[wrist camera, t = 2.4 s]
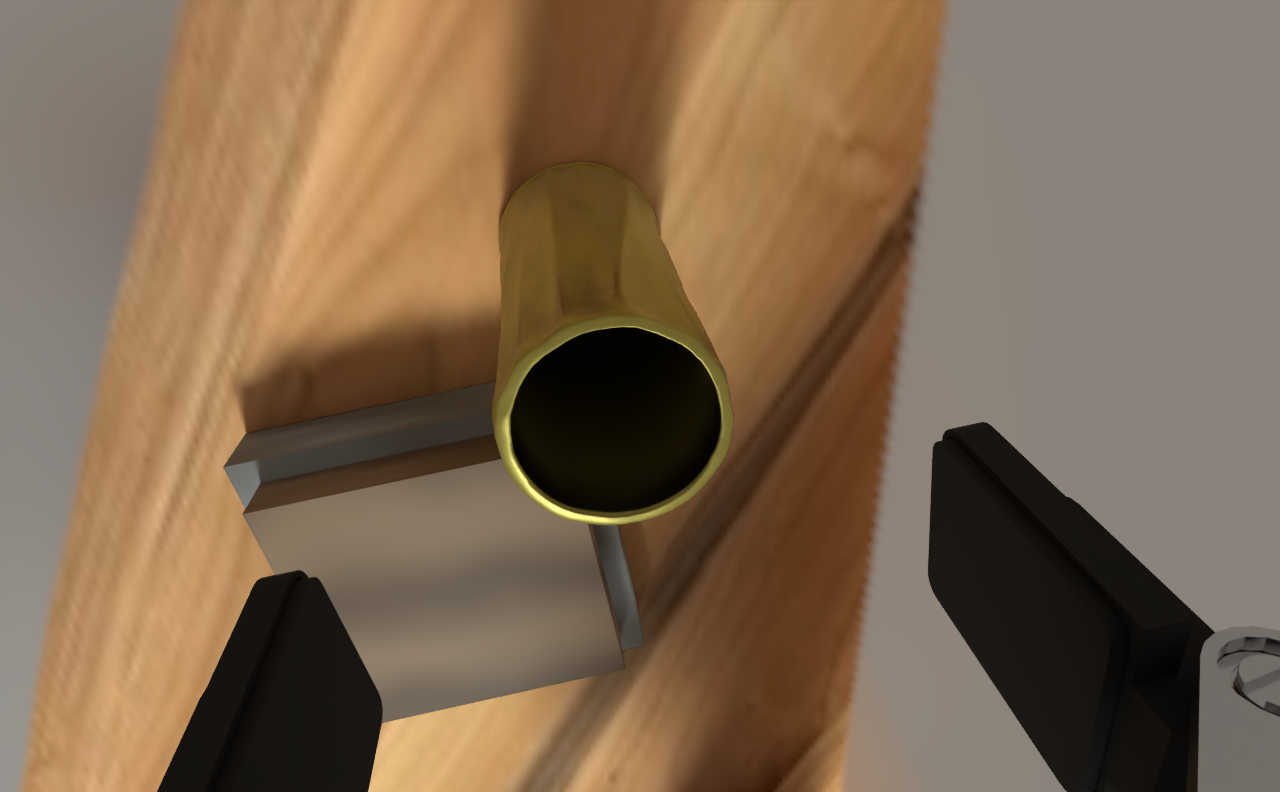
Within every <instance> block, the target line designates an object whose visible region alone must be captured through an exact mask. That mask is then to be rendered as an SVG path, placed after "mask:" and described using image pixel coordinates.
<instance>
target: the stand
mask: <svg viewBox="0 0 1280 792" xmlns="http://www.w3.org/2000/svg"><path fill="white" fill-rule="evenodd" d="M495 384H496V381H495V382H490V383H486V384H481V385H476V386H471V387H466V388H462V389H457V390H452V391H447V392H443V393H438V394H433V395H428V396H424V397H419V398H414V399H409V400H404V401H400V402H395V403H390V404H385V405H381V406H376V407H371V408H366V409H362V410H357V411H352V412H347V413H342V414H338V415H333V416H328V417H323V418H319V419H314V420H309V421H304V422H300V423H295V424H290V425H285V426H280V427H276V428H271V429H266V430H261V431H257V432H252V433H247V434H245V436H244V437H243V439H242V440H241V442H240V443H239V445H238V446H237V448H236V449H235V451H234V452H233V454H232V455H231V456H230V458H229V459H228V461H227V462H226V464H225V465H224V467H223V468H224V470H225V472H226V473H227V475H228V477H229V479H230V481H231V483H232V485H233V486H234V488H235V490H236V492H237V494H238V496H239V498H240V500H241V501H242V503H243V505H244V507H245V511H244V513H243V516H244V518H245V520H246V522H247V524H248V525H249V527H250V529H251V531H252V533H253V535H254V536H255V538H256V540H257V542H258V544H259V546H260V548H261V549H262V551H263V553H264V555H265V557H266V559H267V561H268V562H269V564H270V566H271V568H272V570H273V572H274V573H275V575H278V574H282V573H287V572H292V571H296V570H301V571H303V572H304V573H306V575H307V576H308V578H311V577H317V578H318V579H319V580H320V581H321V583H322V584H323V586H324V588H325V590H326V592H327V594H328V596H329V598H330V600H331V602H332V604H333V605H334V607H335V609H336V611H337V613H338V615H339V617H340V619H341V621H342V623H343V625H344V627H345V628H346V630H347V632H348V634H349V636H350V638H351V640H352V642H353V644H354V646H355V648H356V650H357V652H358V653H359V655H360V657H361V659H362V661H363V663H364V665H365V667H366V669H367V671H368V673H369V675H370V677H371V678H372V680H373V682H374V684H375V686H376V688H377V690H378V692H379V694H380V697H381V701H382V707H383V718H382V723H384V722H389V721H393V720H398V719H402V718H407V717H411V716H416V715H420V714H424V713H429V712H433V711H438V710H442V709H447V708H451V707H456V706H460V705H465V704H469V703H474V702H478V701H483V700H487V699H492V698H496V697H501V696H505V695H510V694H514V693H519V692H523V691H528V690H532V689H536V688H541V687H545V686H550V685H554V684H559V683H563V682H568V681H572V680H577V679H581V678H586V677H590V676H595V675H599V674H604V673H608V672H613V671H617V670H622V669H625V665H624V657H623V650H627V649H631V648H636V647H640V646H645V644H644V638H643V632H642V627H641V621H640V615H639V609H638V605H637V600H636V596H635V592H634V587H633V583H632V579H631V574H630V570H629V566H628V561H627V557H626V553H625V549H624V544H623V540H622V536H621V531H620V527H619V525H596V524H588V523H581V522H576V521H571V520H567V519H564V518H561V517H558V516H556V515H554V514H552V513H550V512H548V511H547V510H545V509H544V508H542V507H540V506H539V505H538V504H536V503H535V502H534V501H532V500H531V499H530V498H529V497H528V496H527V495H525V494H524V493H523V492H522V491H521V490H520V489H519V487H518V486H517V485H516V484H515V483H514V482H513V480H512V479H511V477H510V476H509V474H508V472H507V471H506V469H505V466H504V463H503V461H502V458H501V456H500V452H499V449H498V446H497V443H496V439H495V435H494V426H493V421H492V404H493V396H494V392H495Z"/></svg>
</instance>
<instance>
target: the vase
mask: <svg viewBox="0 0 1280 792" xmlns="http://www.w3.org/2000/svg"><path fill="white" fill-rule="evenodd" d="M499 250H500V255H501V259H500V281H501V334H500V341H499V350H498V363H497V375H496V384H495V392H494V396H493V404H492V421H493V426H494V435H495V439H496V443H497V446H498V449H499V452H500V456H501V458H502V461H503V463H504V466H505V469H506V471H507V472H508V474H509V476H510V477H511V479H512V480H513V482H514V483H515V484H516V485H517V486H518V487H519V489H520V490H521V491H522V492H523V493H524V494H525V495H527V496H528V497H529V498H530V499H531V500H532V501H534V502H535V503H536V504H538V505H539V506H540V507H542V508H544V509H545V510H547V511H548V512H550V513H552V514H554V515H556V516H558V517H561V518H564V519H567V520H571V521H576V522H581V523H588V524H596V525H620V524H628V523H634V522H639V521H644V520H648V519H651V518H655V517H658V516H661V515H663V514H666V513H668V512H670V511H671V510H673V509H675V508H677V507H679V506H680V505H682V504H683V503H685V502H686V501H688V500H689V499H691V498H692V497H693V496H695V495H696V494H697V493H698V492H699V491H700V490H701V489H702V488H703V487H704V485H705V484H706V483H707V482H708V481H709V479H710V478H711V477H712V475H713V474H714V473H715V472H716V470H717V469H718V467H719V466H720V464H721V463H722V461H723V459H724V457H725V455H726V453H727V451H728V448H729V445H730V441H731V436H732V431H733V419H734V414H733V410H732V404H731V398H730V392H729V387H728V382H727V376H726V373H725V370H724V368H723V366H722V364H721V362H720V361H719V359H718V357H717V354H716V352H715V350H714V348H713V346H712V344H711V341H710V339H709V337H708V335H707V333H706V331H705V329H704V327H703V325H702V323H701V321H700V319H699V317H698V315H697V313H696V311H695V310H694V308H693V306H692V305H691V303H690V302H689V300H688V298H687V296H686V294H685V291H684V289H683V286H682V283H681V281H680V278H679V276H678V273H677V271H676V269H675V266H674V264H673V262H672V260H671V257H670V255H669V252H668V250H667V248H666V246H665V244H664V243H663V241H662V239H661V238H660V232H659V227H658V223H657V220H656V216H655V213H654V210H653V208H652V205H651V203H650V202H649V200H648V198H647V197H646V195H645V194H644V193H643V191H642V190H641V189H640V188H639V187H638V186H637V185H636V184H635V183H634V182H633V181H632V180H631V179H630V178H628V177H627V176H626V175H624V174H622V173H621V172H619V171H617V170H615V169H612V168H610V167H607V166H604V165H601V164H597V163H593V162H584V161H582V162H571V163H565V164H560V165H555V166H551V167H548V168H545V169H543V170H541V171H540V172H538V173H536V174H535V175H534V176H532V177H531V178H530V179H528V180H527V181H526V182H525V183H523V184H522V185H521V186H520V187H519V188H518V189H517V190H516V192H515V193H514V194H513V196H512V198H511V199H510V201H509V203H508V205H507V207H506V209H505V211H504V213H503V216H502V219H501V222H500V226H499Z"/></svg>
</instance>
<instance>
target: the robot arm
mask: <svg viewBox="0 0 1280 792" xmlns="http://www.w3.org/2000/svg"><path fill="white" fill-rule="evenodd" d="M929 536H930V537H929V559H928V576H929V581H930V585H931V588H932V590H933V592H934V594H935V596H936V598H937V599H938V601H939V602H940V604H941V605H942V607H943V608H944V610H945V611H946V613H947V614H948V616H949V617H950V619H951V620H952V622H953V623H954V625H955V626H956V628H957V629H958V631H959V632H960V634H961V635H962V637H963V638H964V640H965V641H966V643H967V644H968V646H969V647H970V649H971V650H972V652H973V653H974V655H975V656H976V658H977V659H978V661H979V662H980V664H981V665H982V667H983V668H984V670H985V671H986V673H987V674H988V676H989V677H990V679H991V680H992V682H993V683H994V685H995V686H996V688H997V689H998V691H999V692H1000V694H1001V695H1002V697H1003V698H1004V700H1005V701H1006V703H1007V704H1008V706H1009V707H1010V709H1011V710H1012V712H1013V713H1014V715H1015V716H1016V718H1017V719H1018V721H1019V722H1020V724H1021V725H1022V727H1023V728H1024V730H1025V731H1026V733H1027V734H1028V736H1029V737H1030V739H1031V740H1032V742H1033V743H1034V745H1035V746H1036V748H1037V750H1038V751H1039V752H1040V754H1041V756H1042V757H1043V759H1044V760H1045V761H1046V763H1047V765H1048V766H1049V768H1050V769H1051V771H1052V772H1053V773H1054V775H1055V777H1056V778H1057V780H1058V781H1059V782H1060V784H1061V785H1062V786H1063V788H1064V789H1065V790H1066V791H1067V792H1280V631H1278V630H1273V629H1266V628H1260V627H1254V626H1251V627H1231V628H1228V629H1225V630H1222V631H1219V632H1214V631H1213V630H1212V629H1211V628H1210V627H1209V626H1208V625H1207V624H1205V623H1204V622H1203V621H1202V620H1201V619H1200V618H1199V617H1198V616H1197V615H1196V614H1195V613H1194V612H1193V611H1191V609H1190V608H1188V606H1186V605H1185V604H1184V603H1183V602H1182V601H1181V600H1180V599H1179V598H1178V597H1177V596H1176V595H1175V594H1174V593H1173V592H1172V591H1171V590H1170V589H1168V588H1167V587H1166V586H1165V585H1164V584H1163V583H1162V582H1161V581H1160V580H1159V579H1158V578H1157V577H1156V576H1155V575H1153V574H1152V573H1151V572H1150V571H1149V570H1148V569H1147V568H1146V567H1145V566H1144V565H1143V564H1142V563H1141V562H1140V561H1139V560H1138V559H1137V558H1136V557H1135V556H1133V555H1132V554H1131V553H1130V552H1129V551H1128V550H1127V549H1126V548H1125V547H1124V546H1123V545H1122V544H1121V543H1120V542H1119V541H1118V540H1117V539H1115V538H1114V537H1113V536H1112V535H1111V534H1110V533H1109V532H1108V531H1107V530H1106V529H1105V528H1104V527H1103V526H1102V525H1101V524H1100V523H1098V522H1097V521H1096V520H1095V519H1094V518H1093V517H1092V516H1091V515H1090V514H1089V513H1088V512H1087V511H1086V510H1085V509H1084V508H1083V507H1081V506H1080V505H1079V504H1078V503H1077V502H1075V501H1074V500H1073V499H1071V498H1069V497H1066V496H1065V495H1064V494H1063V493H1061V492H1060V491H1059V490H1058V489H1057V488H1056V487H1055V486H1054V485H1053V484H1052V483H1051V482H1050V481H1049V480H1048V479H1047V478H1046V477H1045V476H1044V475H1042V473H1040V472H1039V471H1038V470H1037V469H1036V468H1035V467H1034V466H1033V465H1032V464H1031V463H1030V462H1029V461H1028V460H1027V459H1026V458H1025V457H1024V456H1023V455H1021V454H1020V453H1019V452H1018V451H1017V450H1016V449H1015V448H1014V447H1013V446H1012V445H1011V444H1010V443H1009V442H1008V441H1007V440H1006V439H1005V438H1004V437H1003V436H1002V435H1001V434H1000V433H998V432H997V431H996V430H995V429H994V428H993V427H992V426H991V425H989V424H988V423H984V422H981V423H976V424H972V425H967V426H962V427H958V428H953V429H949V430H947V431H945V433H944V435H943V440H942V441H939V442H936V443H935V444H934V446H933V459H932V483H931V511H930V534H929ZM382 718H383V707H382V701H381V697H380V694H379V692H378V690H377V688H376V686H375V684H374V682H373V680H372V678H371V677H370V675H369V673H368V671H367V669H366V667H365V665H364V663H363V661H362V659H361V657H360V655H359V653H358V652H357V650H356V648H355V646H354V644H353V642H352V640H351V638H350V636H349V634H348V632H347V630H346V628H345V627H344V625H343V623H342V621H341V619H340V617H339V615H338V613H337V611H336V609H335V607H334V605H333V604H332V602H331V600H330V598H329V596H328V594H327V592H326V590H325V588H324V586H323V584H322V583H321V581H320V580H319V579H318V578H317V577H311V578H308V576H307V575H306V573H304V572H303V571H301V570H296V571H292V572H287V573H282V574H278V575H273V576H268V577H264V578H261V579H259V580H257V581H256V583H255V584H254V586H253V588H252V590H251V592H250V595H249V597H248V599H247V601H246V603H245V606H244V608H243V610H242V612H241V614H240V616H239V619H238V621H237V623H236V625H235V627H234V629H233V632H232V634H231V636H230V638H229V640H228V643H227V645H226V647H225V649H224V651H223V653H222V656H221V658H220V660H219V662H218V664H217V667H216V669H215V671H214V673H213V675H212V677H211V680H210V682H209V684H208V686H207V688H206V690H205V691H204V693H203V695H202V696H201V698H200V700H199V702H198V704H197V706H196V709H195V711H194V713H193V715H192V717H191V719H190V722H189V724H188V726H187V728H186V730H185V732H184V735H183V737H182V739H181V741H180V743H179V745H178V748H177V750H176V752H175V754H174V756H173V758H172V761H171V763H170V765H169V767H168V769H167V771H166V774H165V776H164V778H163V780H162V782H161V784H160V787H159V789H158V791H157V792H368V789H369V784H370V779H371V774H372V769H373V764H374V759H375V754H376V749H377V744H378V739H379V734H380V729H381V724H382Z"/></svg>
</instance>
